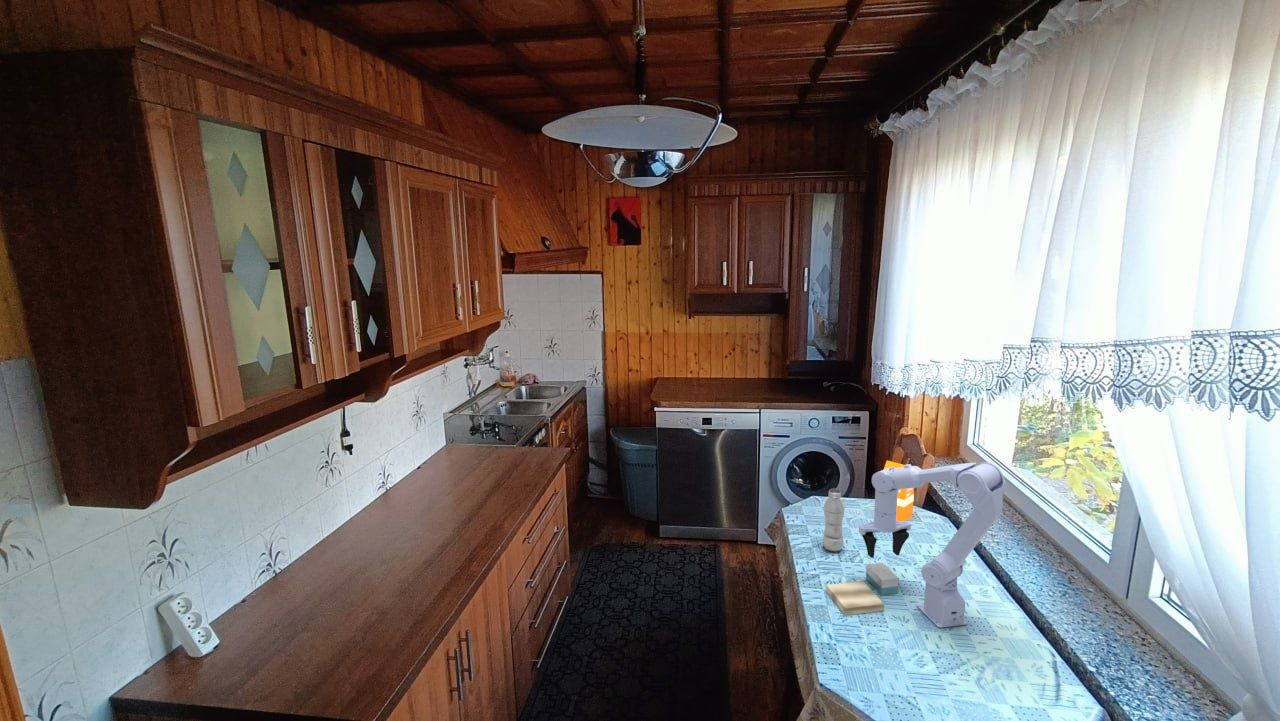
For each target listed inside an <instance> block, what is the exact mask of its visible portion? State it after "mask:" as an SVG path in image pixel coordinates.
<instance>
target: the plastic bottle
mask: <svg viewBox="0 0 1280 721" xmlns="http://www.w3.org/2000/svg"><path fill="white" fill-rule="evenodd" d="M841 494H842V493H841V490H840V489H837V488H830V489H829V490H828V498H827V499H826V500H825V501H824V504H823V511H824V532H823V535H822V546H823V547H824V549H825V550H827V551H829V552H833V553H836V552H839V551H841V550H842V549H843V547H844V537H843V519H844V515H845V514H844V513H845V508H846V507H845V504H844V502H843V500H842V499H841V498H842V495H841Z"/></svg>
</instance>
